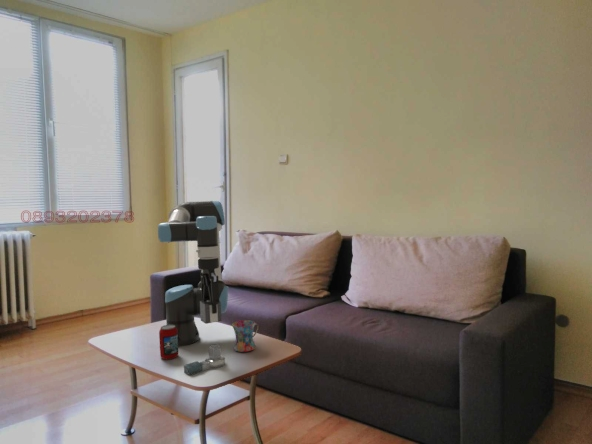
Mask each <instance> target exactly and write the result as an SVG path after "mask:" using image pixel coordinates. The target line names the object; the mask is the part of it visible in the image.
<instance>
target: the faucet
mask: <svg viewBox="0 0 592 444" xmlns="http://www.w3.org/2000/svg"><path fill="white" fill-rule="evenodd" d="M225 365H226V358H225V357H224V356H223V355H221V347H220V346H219V345H218V344H216V343H215V344H211V345H210V346H209V347H208V357H207V358H205V360H203V361H200V362H199V360H196V361H193V362H190V363H187V364H183V372H184V373H185V374H186V375H188V376H192V375H195V374H198V373H202V372H204V371H206V370H210V369H218V368H222V367H224V366H225Z"/></svg>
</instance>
